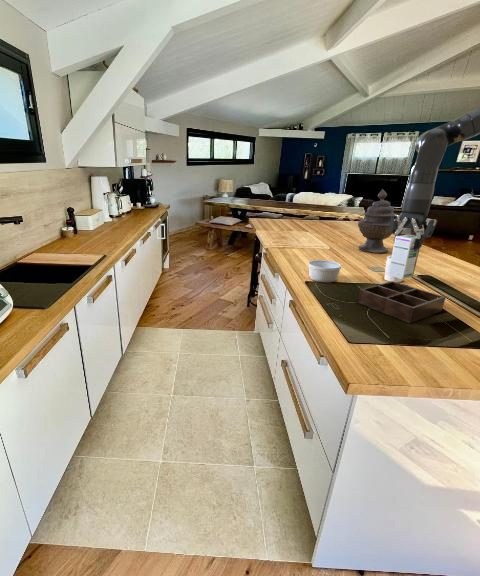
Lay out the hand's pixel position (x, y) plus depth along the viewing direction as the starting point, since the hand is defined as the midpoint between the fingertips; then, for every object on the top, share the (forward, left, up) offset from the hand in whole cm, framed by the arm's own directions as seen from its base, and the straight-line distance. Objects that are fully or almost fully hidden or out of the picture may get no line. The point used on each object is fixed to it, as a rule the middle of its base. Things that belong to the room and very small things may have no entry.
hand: (406, 247), depth 109 cm
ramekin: (+30, +4, -20) cm, 36 cm away
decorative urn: (+51, -61, -20) cm, 82 cm away
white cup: (+14, -21, -20) cm, 33 cm away
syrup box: (0, 0, -11) cm, 11 cm away
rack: (-4, +5, -20) cm, 21 cm away
